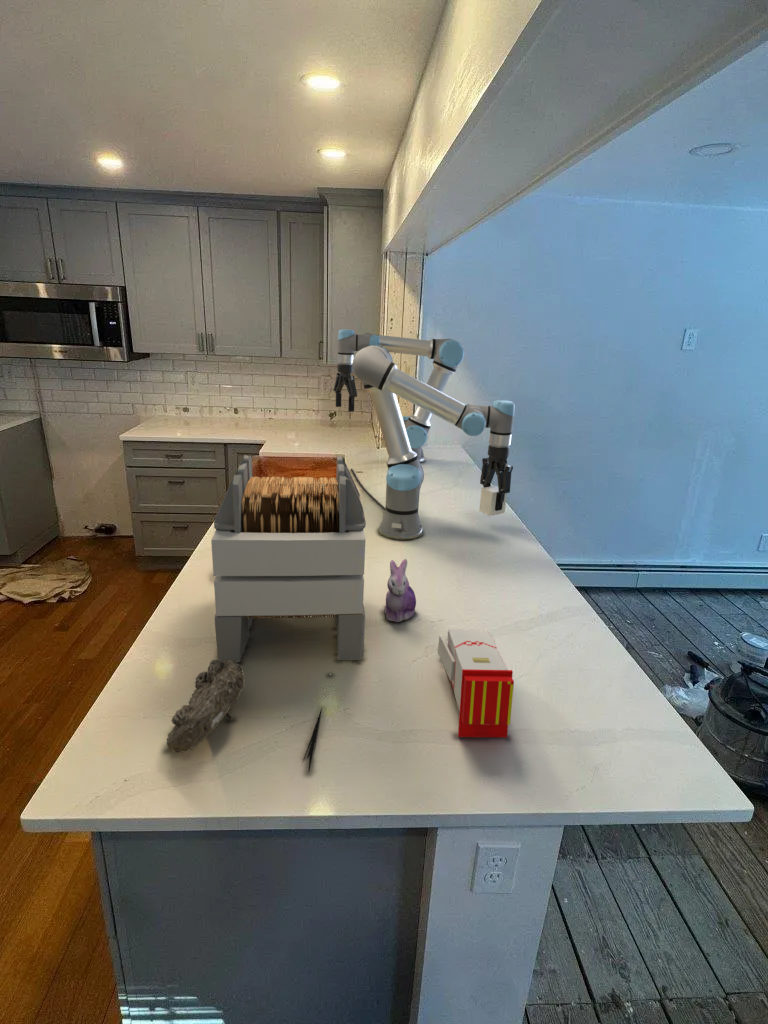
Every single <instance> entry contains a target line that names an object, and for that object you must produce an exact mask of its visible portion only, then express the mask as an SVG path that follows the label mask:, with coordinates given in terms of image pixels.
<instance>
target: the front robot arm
mask: <svg viewBox="0 0 768 1024" xmlns="http://www.w3.org/2000/svg"><path fill="white" fill-rule="evenodd" d="M353 373H354V376H355V377H356V378H357V379H358V380H359V381H360V382H362V386H363V389H364V391H366V392H367V393H369V394H370V398H371V401H372V404H373V407H374V411H375V415H376V418H377V421H378V425H379V428H380V432H381V434H382V435H381V436H383V438H384V439H383V438H382V439H383V442H385V443H384V445H385V448H386V452H387V455H388V458H387V460H386V462H385V463H386V466H387V471H386V476H385V482H386V485H385V504H384V505H385V507H384V505H382V504H381V503H380V502H379V501H378V500H377V499H376V498H375V497H374V496H373V495H372V494H371V493H369V491H368V490H367V489H366V488H365V487H364V485H363V484H362V483H361V482H360V480H359V479H358V477H357V475H356V473H355V471H354V469H353V468H350V471H351V473H352V475H353V477H354V478H355V481H356V482H357V483H358V485H359V486H360V488H361V489H362V490H363V491H364V492H365V494H366V495H368V496H369V497H370V498H371V500H372V501H374V502H375V503H376V505H378V506H379V507H380V508H381V509H382V510H383V512H384V513H383V515H382V519H381V522H379V525H378V533H379V534H380V535H381V536H382V537H385V538H387V539H389V540H395V541H410V540H415V539H418V538H420V537H421V536H422V535H423V525H422V524H421V518H420V515H419V507H420V506H419V505H420V504H419V503H420V494H421V493H420V492H421V488H422V485H423V482H424V479H425V471H424V467H423V466H422V463H419V459H418V456H417V453H416V452H414V451H412V450H411V447H410V443H409V440H408V436H407V432H406V429H405V425H404V422H403V418H402V417H403V415H402V411H401V408H400V404H399V401H398V397H399V398H401V399H403V400H406V401H407V402H409V403H411V404H413V405H415V406H416V407H417V406H419V407H421V408H423V409H424V410H426V411H428V412H430V413H432V414H433V415H434V416H436V417H438V418H440V419H442V420H443V421H445V422H448V423H449V424H451V425H453V426H454V427H456V428H458V429H460V430H462V431H463V432H464V433H465V434H466V435H467V436H470V437H477V436H479V435H481V434H482V433H483V432H484V431H485V429H489V437H488V438H489V440H488V444H489V445H488V446H487V456H488V457H483V458H482V460H481V461H482V462H481V463H482V466H481V472H480V478H479V479H480V480H479V484H480V485H482V488H485V487H491V486H493V485H492V482H493V479H494V476H495V475H496V476H497V477H496V478H497V486H498V489H499V492H497V496H496V505H495V510H496V511H498V510H502V505H503V502H504V497H505V493H507V494H509V493H511V481H512V472H513V469H514V466H513V465H509V464H508V458H510V452H511V442H512V435H513V427H514V420H515V410H516V409H515V408H516V405H515V403H514V401H511V400H505V399H496V400H494V401H493V402H492V405H480V404H470V403H467V404H465V403H463V402H461V401H459V400H457V399H455V398H454V397H452V396H450V395H448V394H447V393H445V392H440V391H438V390H437V389H435V388H433V387H431V386H429V385H427V383H425V382H423V381H421V380H420V379H418V378H416V377H414V376H412V375H410V374H408V373H406V372H404V371H402V370H401V369H400V368H398V366H397V363H394V360H393V357H392V354H391V352H389V351H388V350H387V349H385V348H384V347H382V346H379V345H371V346H368V347H366V348H363V349H361V350H360V351H356V353H355V354H354V359H353ZM397 396H398V397H397ZM502 489H503V490H502Z"/></svg>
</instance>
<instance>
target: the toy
mask: <svg viewBox="0 0 768 1024" xmlns="http://www.w3.org/2000/svg"><path fill="white" fill-rule="evenodd" d="M446 640H447V643H446V641H445V639H444V636H443V635H442V634H439V637H438V646H437V656H438V657H439V659H440V661H441V663H442V666H443V668H444V670H445V672H446V674H447V677H448V679H449V681H450V684H451V687H452V690H453V693H454V697H455V701H456V705H457V708H458V711H459V714H458V715H459V716H458V730H457V731H458V732H457V737H458V738H508V731H509V726H510V725H511V717H512V707H513V697H514V696H513V695H514V684H515V680H514V679H513V673H514V671H513V670H512V669H508V667H507V665H506V662H505V661H504V659H503V658H502V655H501V653H500V651H499V649H498V647H497V643H496V639H495V637H494V635H493V634H491V632H490V631H489V629H467V628H466V629H465V628H463V629H461V628H460V629H459V628H448V630H447V639H446Z"/></svg>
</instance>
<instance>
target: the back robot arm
mask: <svg viewBox="0 0 768 1024" xmlns="http://www.w3.org/2000/svg"><path fill="white" fill-rule="evenodd" d="M337 333H338V334H337V363H338V364H337V372H336V377H335V382H334V385H333V392H334V393H335V408H339V407H340V408H341V407H342V393H343V391H342V390H343V387H344V386H345V387H346V389H347V392H348V395H349V396H348V410H347V411H348V412H349V413H350V412H355V398H357V397H358V392H357V387H356V381H355V375H351V374H353V373H354V371H353V359H354V356H355V352H358V351H360V350H361V349H363V348H366V347H368V346H371V345H379V346H382V347H384V348H385V349H387V350H388V351H389V353H392V354H400V355H401V354H403V355H411V356H420V357H427V358H428V359H429V360H433V361H432V366H433V369H432V371H431V373H430V376H429V378H428V381H427V383H426V384H427V385H429V386H431V387H433V388H435V389H437V390H438V391H440V392H442V393H444V390H445V388H446V386H447V384H448V381H449V379H450V377H451V376H452V375H454V374H455V373H456V371H457V369H458V367H459V365H460V364H461V363H462V362H463V360H464V357H465V349H464V347H463V345H462V344H461V343H460V341H458V340H456V339H452V338H431V339H428V340H427V339H419V338H410V337H401V336H391V335H383V334H375V333H374V334H373V333H368V332H365V333H363V334H357V333H355V330H354V329H344V328H343V329H339V330H338V332H337ZM433 415H434V414H432V413H430V412H428V411H426V410H424V409H423V408H421V407H419V406H417V405H416V408H415V410H414V412H413V414H411V415H407V416H406V415H405V416H403V415H402V418H403V422H404V425H405V429H406V432H407V436H408V440H409V443H410V447H411V450H412V451H414V452H416V453H417V456H418V459H419V463H420V464H422V463H424V462H425V458H426V457H425V454H424V449H423V446H424V445H425V444H426V442H427V439H428V434H429V431H430V429H431V427H432V423H431V420H432V417H433ZM375 437H377V435H375Z"/></svg>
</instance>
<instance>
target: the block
mask: <svg viewBox="0 0 768 1024" xmlns="http://www.w3.org/2000/svg"><path fill="white" fill-rule="evenodd" d="M502 490H503V489H502ZM497 492H499V489H498V485H492V486H490V487H485V488H484V487H481V491H480V499H479V500H480V501H479V509H478V511H479V512H480V513H482V514H485V515H487V516H489V517H491V516H496V515H502V514H505V513H506V505H507V497H508V493H505V497H504V502H503V505H502V510H498V511H496V510H495V505H496V496H497Z"/></svg>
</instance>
